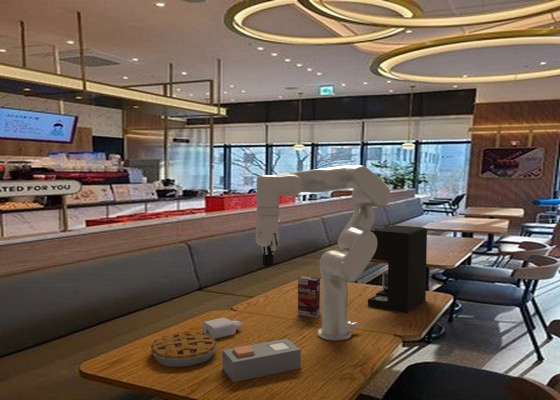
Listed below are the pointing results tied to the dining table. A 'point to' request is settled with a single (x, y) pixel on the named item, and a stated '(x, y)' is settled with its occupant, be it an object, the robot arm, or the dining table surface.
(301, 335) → the dining table surface
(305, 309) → the supplement box
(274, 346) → the beige plunger
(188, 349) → the pie
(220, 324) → the charger
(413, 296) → the coffee maker
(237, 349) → the terracotta plunger
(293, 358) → the button box
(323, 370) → the dining table surface
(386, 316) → the dining table surface
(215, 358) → the dining table surface
